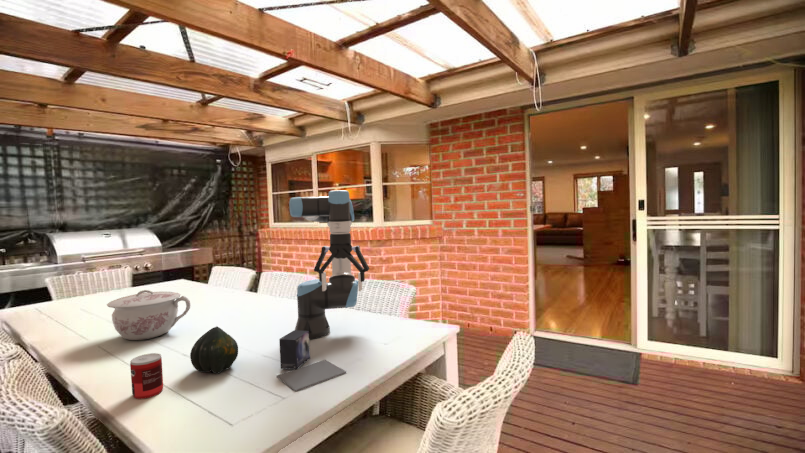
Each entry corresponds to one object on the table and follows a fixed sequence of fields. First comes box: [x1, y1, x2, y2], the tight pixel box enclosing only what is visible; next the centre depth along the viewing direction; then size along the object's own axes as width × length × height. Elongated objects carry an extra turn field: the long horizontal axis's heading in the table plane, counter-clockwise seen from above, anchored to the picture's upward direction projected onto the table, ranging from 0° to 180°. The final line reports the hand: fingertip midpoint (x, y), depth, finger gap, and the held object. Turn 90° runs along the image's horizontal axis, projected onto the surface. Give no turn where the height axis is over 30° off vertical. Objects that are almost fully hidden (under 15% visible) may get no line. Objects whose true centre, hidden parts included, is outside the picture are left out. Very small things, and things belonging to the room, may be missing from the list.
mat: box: [276, 359, 347, 392], centre depth 123 cm, size 14×18×1 cm
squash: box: [189, 325, 239, 374], centre depth 130 cm, size 14×15×15 cm
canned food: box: [129, 352, 164, 400], centre depth 113 cm, size 8×8×11 cm
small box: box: [278, 329, 311, 370], centre depth 131 cm, size 11×6×10 cm, turn 168°
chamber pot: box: [106, 289, 192, 341], centre depth 168 cm, size 28×28×21 cm
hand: (342, 290), depth 137 cm, fingers open, 13 cm apart
